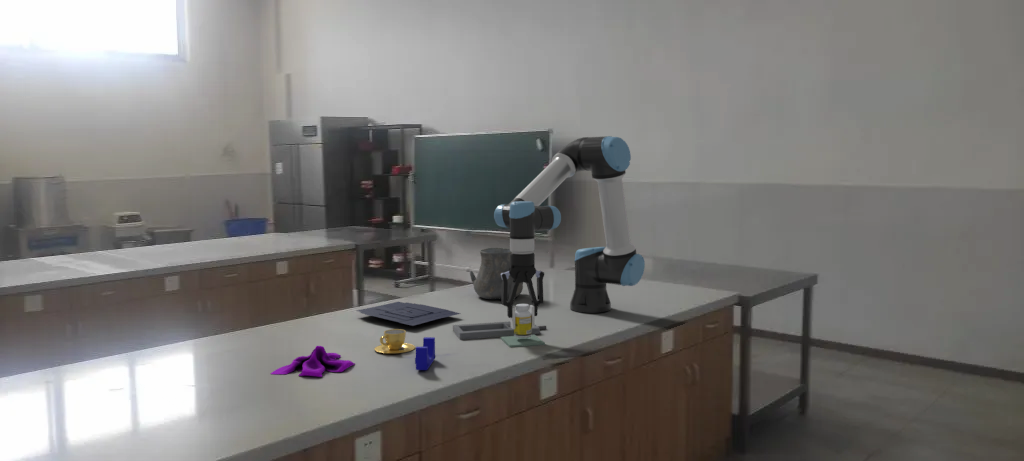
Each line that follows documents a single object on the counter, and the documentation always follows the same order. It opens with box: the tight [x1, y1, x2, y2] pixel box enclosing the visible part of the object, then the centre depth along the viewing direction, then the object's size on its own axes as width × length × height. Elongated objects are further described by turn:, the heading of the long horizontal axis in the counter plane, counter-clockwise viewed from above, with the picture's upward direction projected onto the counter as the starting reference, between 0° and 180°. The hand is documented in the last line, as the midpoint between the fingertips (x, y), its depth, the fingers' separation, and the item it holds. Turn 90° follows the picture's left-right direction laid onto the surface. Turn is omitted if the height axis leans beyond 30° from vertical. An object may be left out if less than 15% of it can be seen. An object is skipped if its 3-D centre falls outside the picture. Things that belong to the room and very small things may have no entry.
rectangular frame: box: [452, 320, 547, 340], centre depth 240 cm, size 30×12×3 cm, turn 105°
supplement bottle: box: [514, 303, 531, 338], centre depth 227 cm, size 5×5×10 cm
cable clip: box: [414, 336, 436, 371], centre depth 204 cm, size 12×4×6 cm, turn 176°
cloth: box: [270, 345, 356, 378], centre depth 202 cm, size 22×19×6 cm
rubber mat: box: [500, 334, 546, 348], centre depth 228 cm, size 11×11×1 cm
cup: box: [374, 328, 416, 354], centre depth 220 cm, size 12×12×5 cm
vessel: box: [469, 247, 524, 301], centre depth 298 cm, size 22×22×20 cm
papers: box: [356, 301, 462, 327], centre depth 260 cm, size 24×30×4 cm
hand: (522, 327), depth 227 cm, fingers closed on supplement bottle, 5 cm apart
